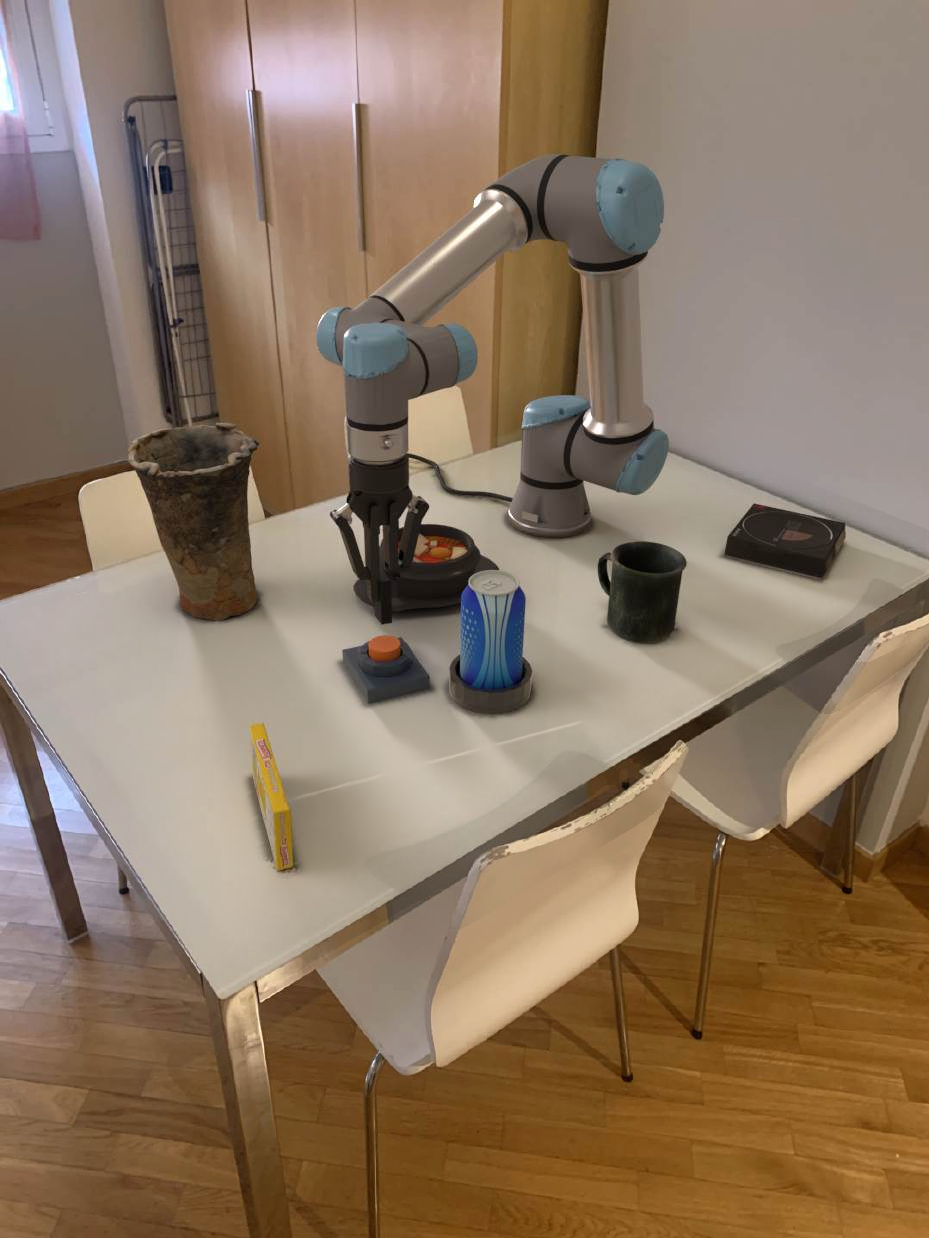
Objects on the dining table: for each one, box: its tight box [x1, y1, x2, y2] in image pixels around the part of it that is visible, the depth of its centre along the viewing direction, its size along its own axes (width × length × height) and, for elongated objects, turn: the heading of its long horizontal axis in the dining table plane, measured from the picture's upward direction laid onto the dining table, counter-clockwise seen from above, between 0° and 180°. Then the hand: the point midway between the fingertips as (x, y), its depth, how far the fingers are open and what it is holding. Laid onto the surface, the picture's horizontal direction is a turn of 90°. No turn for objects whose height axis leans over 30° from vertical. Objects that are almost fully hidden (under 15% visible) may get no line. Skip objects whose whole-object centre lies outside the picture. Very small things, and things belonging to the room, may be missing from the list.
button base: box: [341, 636, 431, 704], centre depth 136 cm, size 11×9×4 cm
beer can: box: [459, 569, 527, 690], centre depth 130 cm, size 8×8×16 cm
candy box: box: [249, 722, 294, 871], centre depth 109 cm, size 16×2×8 cm, turn 20°
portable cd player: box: [723, 502, 847, 581], centre depth 172 cm, size 16×17×4 cm
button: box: [368, 634, 401, 662], centre depth 135 cm, size 4×4×2 cm
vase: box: [127, 422, 260, 621], centre depth 148 cm, size 18×18×27 cm
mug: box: [597, 540, 688, 644], centre depth 148 cm, size 11×15×12 cm
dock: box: [448, 653, 533, 715], centre depth 134 cm, size 11×11×4 cm
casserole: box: [352, 523, 500, 612], centre depth 157 cm, size 25×19×8 cm
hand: (383, 618), depth 132 cm, fingers closed
